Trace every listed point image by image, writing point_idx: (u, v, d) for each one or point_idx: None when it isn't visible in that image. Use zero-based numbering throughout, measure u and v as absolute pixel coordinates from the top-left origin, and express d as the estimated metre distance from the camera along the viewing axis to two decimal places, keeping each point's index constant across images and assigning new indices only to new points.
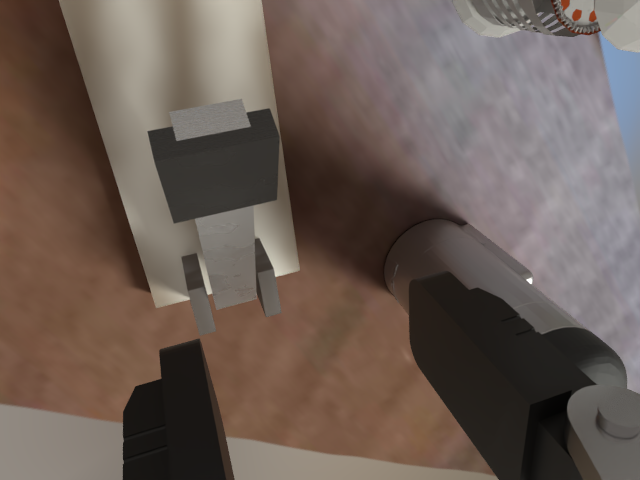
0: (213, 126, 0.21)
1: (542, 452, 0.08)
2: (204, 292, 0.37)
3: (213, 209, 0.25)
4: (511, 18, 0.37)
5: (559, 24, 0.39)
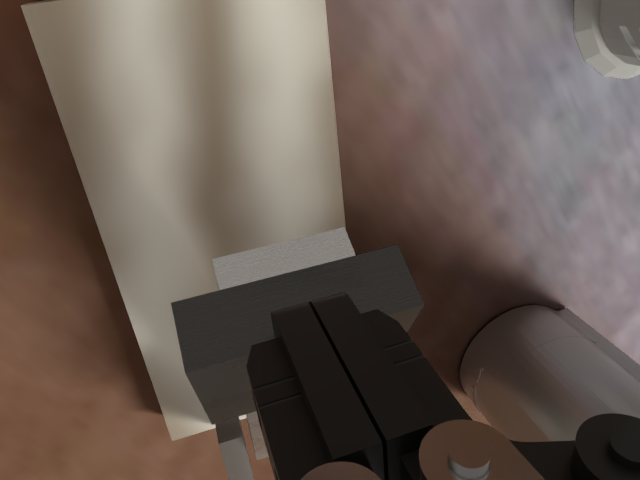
0: (297, 288, 0.11)
1: None
2: (242, 443, 0.27)
3: None
4: None
5: None
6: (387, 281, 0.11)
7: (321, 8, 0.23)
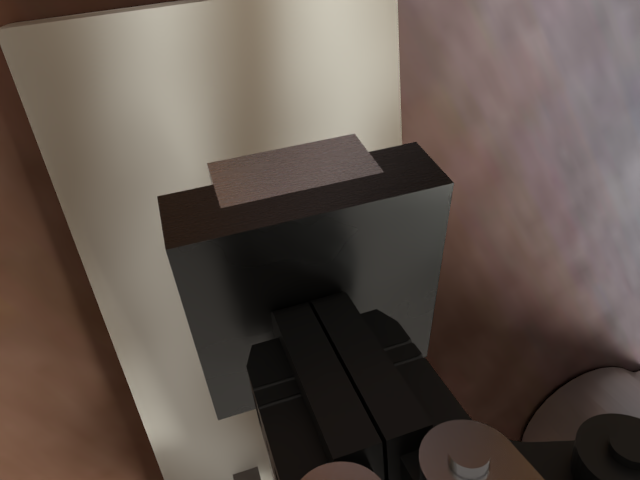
0: (302, 178, 0.10)
1: None
2: None
3: None
4: None
5: None
6: (407, 168, 0.10)
7: (393, 29, 0.18)
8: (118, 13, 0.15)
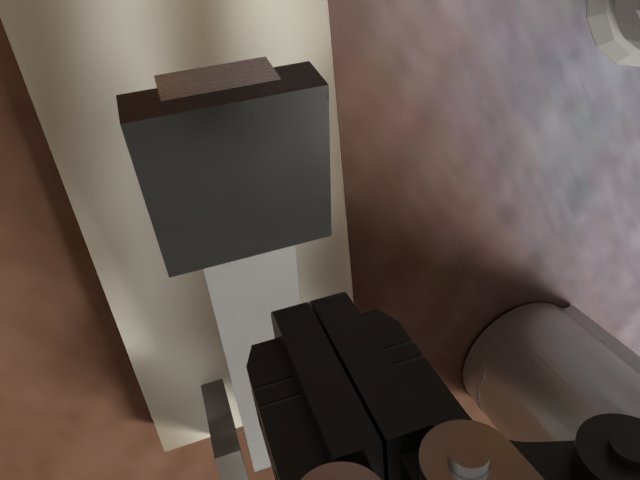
0: (221, 83, 0.13)
1: None
2: (239, 457, 0.25)
3: (232, 249, 0.15)
4: None
5: None
6: (298, 76, 0.13)
7: None
8: None
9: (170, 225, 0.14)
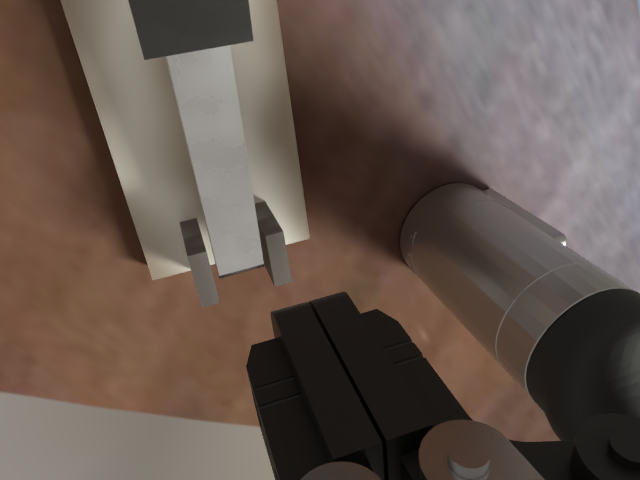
0: None
1: None
2: (206, 258, 0.33)
3: (185, 42, 0.24)
4: None
5: None
6: None
7: None
8: None
9: (143, 15, 0.22)
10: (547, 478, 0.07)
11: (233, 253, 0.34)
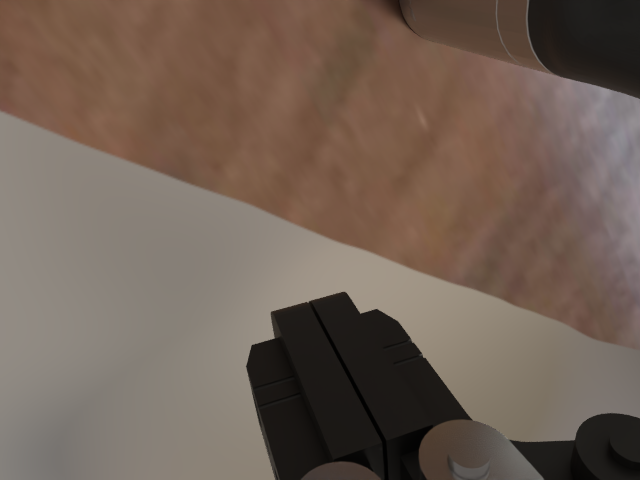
0: None
1: None
2: None
3: None
4: None
5: None
6: None
7: None
8: None
9: None
10: (547, 478, 0.07)
11: None
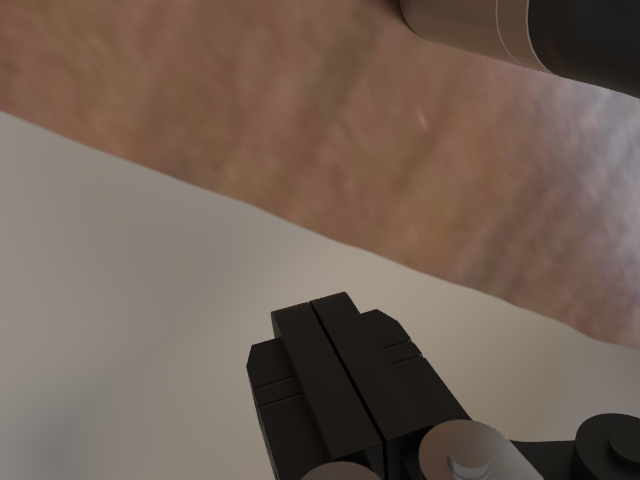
0: None
1: None
2: None
3: None
4: None
5: None
6: None
7: None
8: None
9: None
10: (547, 478, 0.07)
11: None
